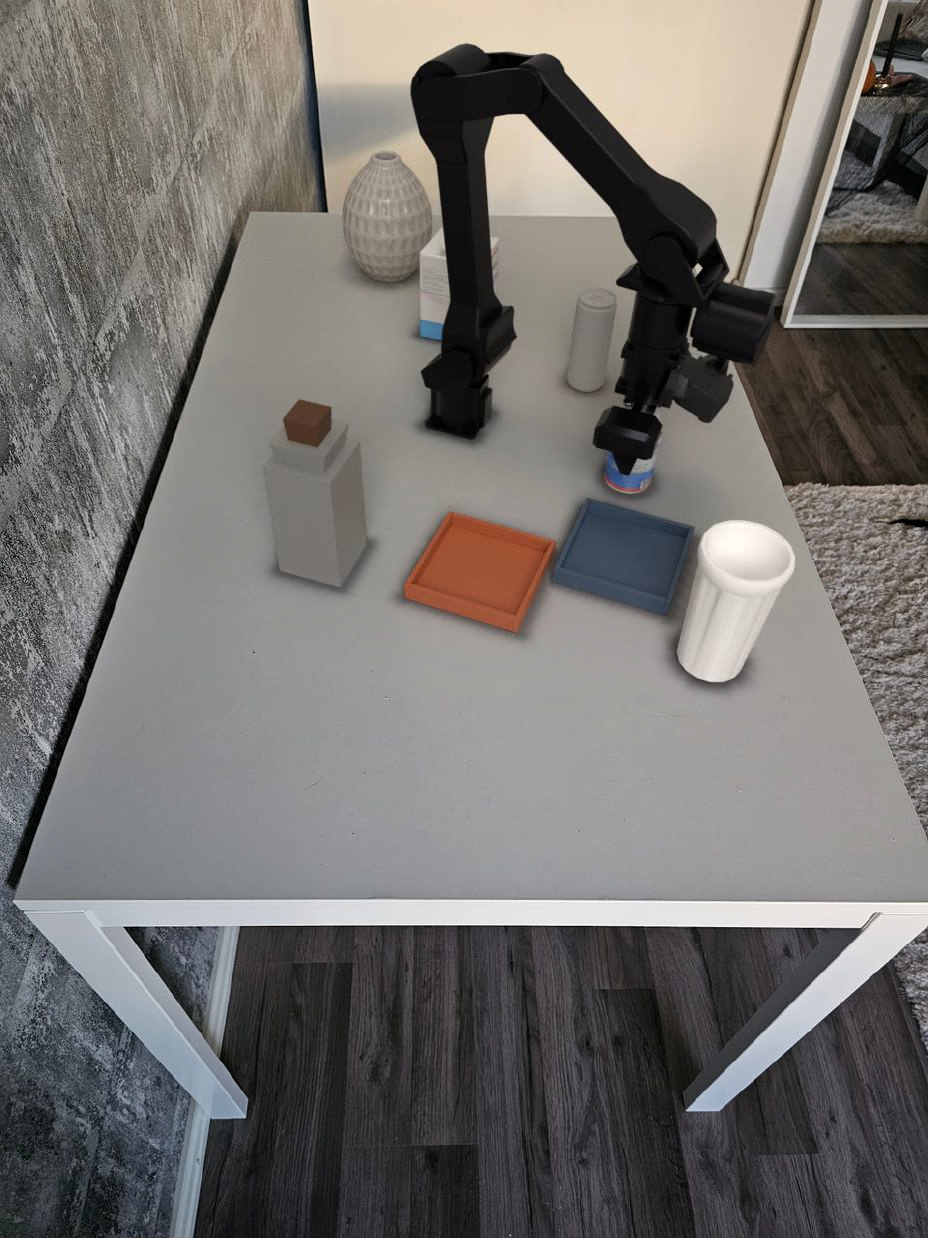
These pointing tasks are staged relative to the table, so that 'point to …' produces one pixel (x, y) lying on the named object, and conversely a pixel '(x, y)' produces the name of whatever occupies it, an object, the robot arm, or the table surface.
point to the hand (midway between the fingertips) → (631, 459)
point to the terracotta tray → (481, 571)
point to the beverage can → (591, 338)
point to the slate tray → (624, 555)
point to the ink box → (440, 284)
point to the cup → (732, 596)
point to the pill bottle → (638, 475)
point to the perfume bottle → (316, 495)
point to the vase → (387, 218)
